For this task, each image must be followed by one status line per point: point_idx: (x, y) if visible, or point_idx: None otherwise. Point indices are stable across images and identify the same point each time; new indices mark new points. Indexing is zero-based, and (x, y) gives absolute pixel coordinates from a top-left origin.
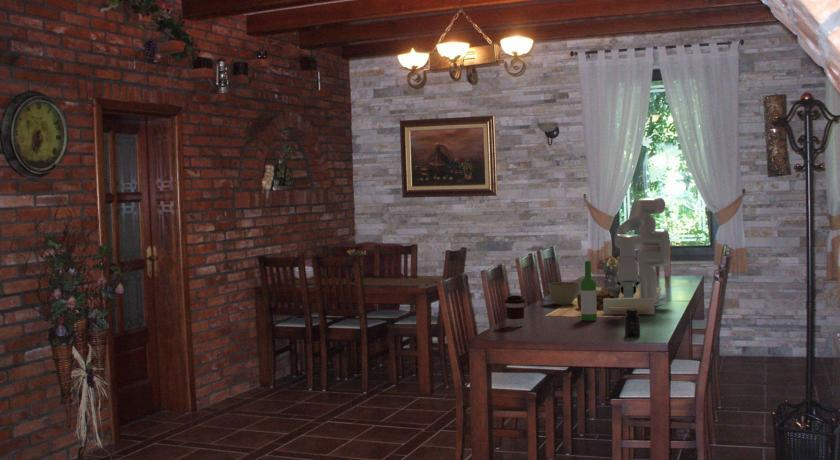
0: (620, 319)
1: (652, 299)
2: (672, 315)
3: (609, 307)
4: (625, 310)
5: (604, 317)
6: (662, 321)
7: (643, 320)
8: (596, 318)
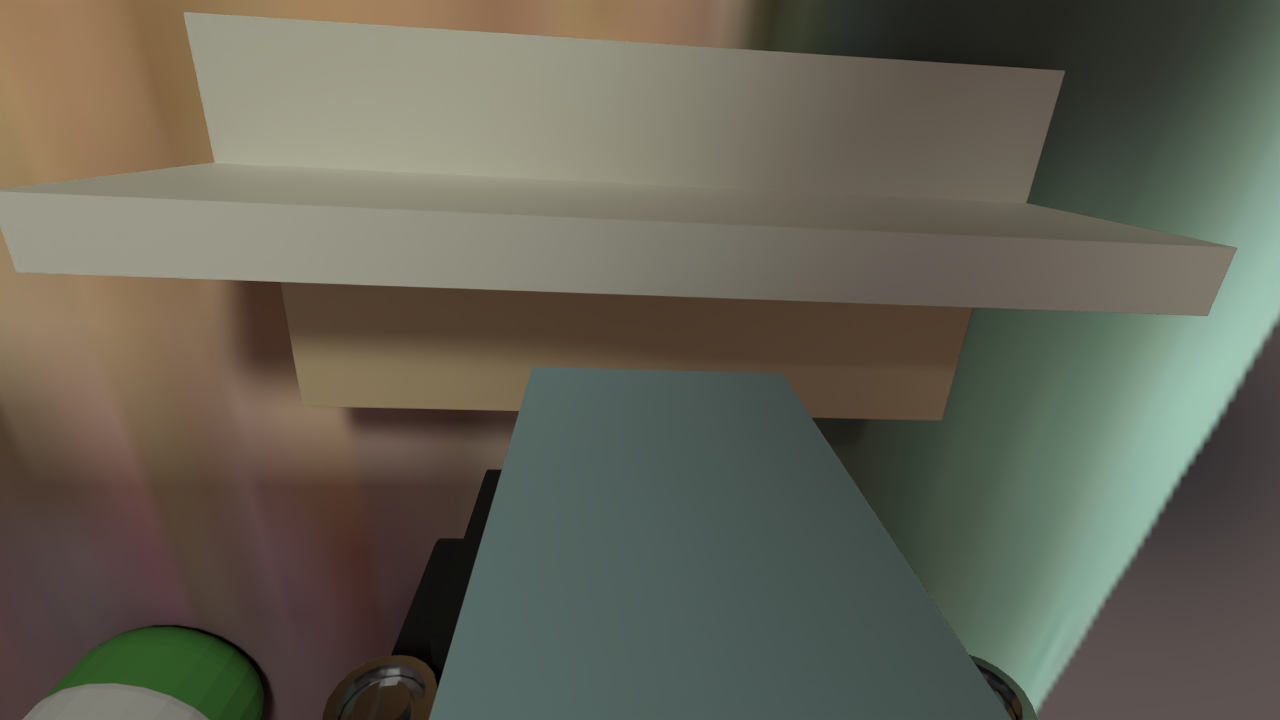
0: None
1: (1161, 311)
2: (1181, 353)
3: (302, 355)
4: None
5: (319, 499)
6: None
7: None
8: (260, 711)
